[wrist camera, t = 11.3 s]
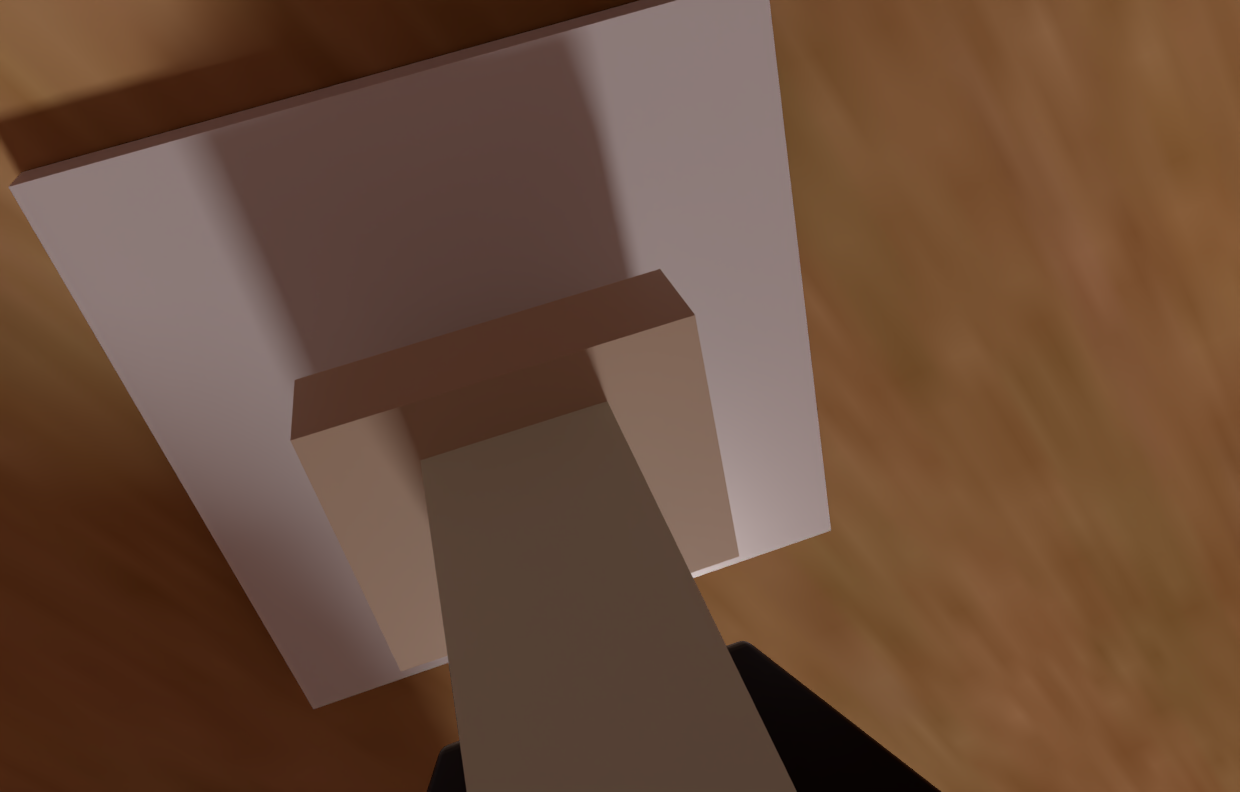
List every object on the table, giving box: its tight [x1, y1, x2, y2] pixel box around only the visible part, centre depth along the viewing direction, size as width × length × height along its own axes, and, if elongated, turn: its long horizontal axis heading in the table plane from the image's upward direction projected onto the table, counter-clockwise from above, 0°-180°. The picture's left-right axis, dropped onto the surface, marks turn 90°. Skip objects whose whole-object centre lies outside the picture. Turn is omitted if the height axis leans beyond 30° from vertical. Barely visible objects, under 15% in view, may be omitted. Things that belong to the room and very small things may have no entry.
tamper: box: [290, 269, 797, 792], centre depth 9 cm, size 4×5×10 cm
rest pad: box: [9, 0, 831, 709], centre depth 15 cm, size 10×10×1 cm
